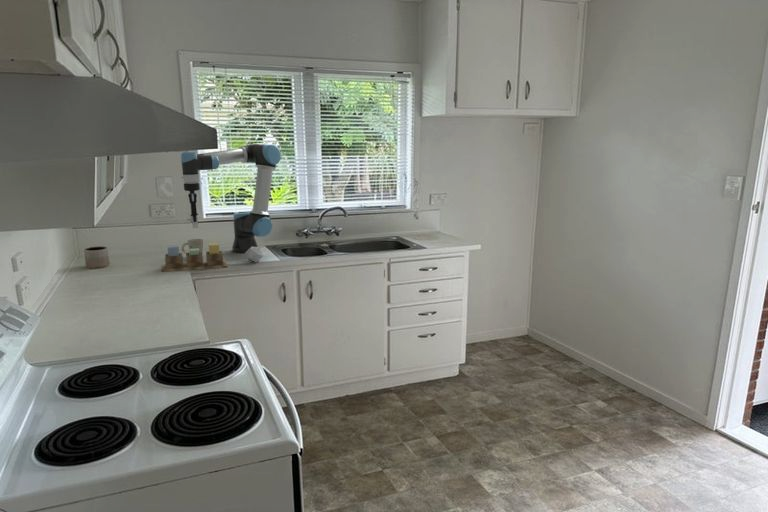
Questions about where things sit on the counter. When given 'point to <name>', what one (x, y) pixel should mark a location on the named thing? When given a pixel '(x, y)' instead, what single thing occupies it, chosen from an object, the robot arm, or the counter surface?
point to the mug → (194, 244)
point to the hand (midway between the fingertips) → (195, 227)
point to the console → (193, 262)
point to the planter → (96, 257)
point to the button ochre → (213, 248)
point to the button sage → (194, 251)
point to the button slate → (173, 250)
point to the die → (254, 254)
